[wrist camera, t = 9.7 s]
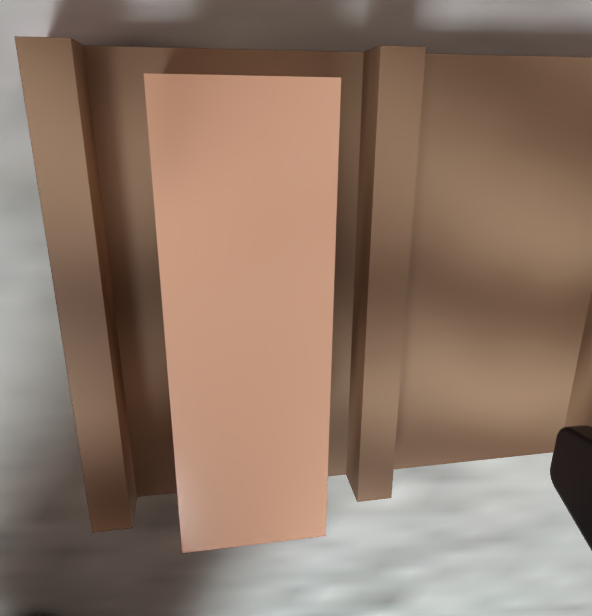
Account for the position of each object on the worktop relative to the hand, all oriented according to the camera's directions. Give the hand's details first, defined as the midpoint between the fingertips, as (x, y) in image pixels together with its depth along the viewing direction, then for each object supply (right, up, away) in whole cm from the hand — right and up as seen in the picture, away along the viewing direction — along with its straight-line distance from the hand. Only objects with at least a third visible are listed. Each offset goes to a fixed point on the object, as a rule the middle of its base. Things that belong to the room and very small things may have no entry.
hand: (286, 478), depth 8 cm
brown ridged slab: (+2, +3, +10) cm, 11 cm away
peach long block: (-2, +3, +9) cm, 9 cm away
